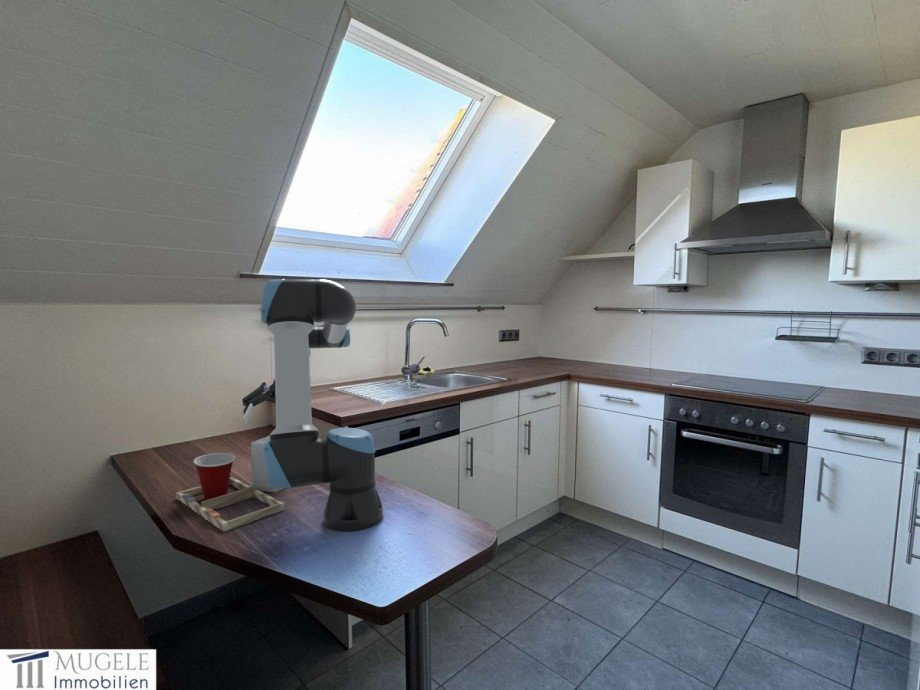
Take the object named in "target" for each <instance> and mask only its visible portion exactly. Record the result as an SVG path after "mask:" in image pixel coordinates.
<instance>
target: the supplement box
mask: <svg viewBox="0 0 920 690" xmlns="http://www.w3.org/2000/svg"><path fill="white" fill-rule="evenodd" d="M267 441H269V442H270V435H268V436H265V437H261V438H259V439H257V440H254V441H252V442H251V443H250V456H251V460H250V462H251V485H252V486H251V487H254V488H255V489H257V490H259V491H261V492H270V493H278V492H280V491H282V490H284V489H285V488H283V489H275V488H273V487H272V486H271V485H270V482H269V479H268V475H267V470H266V464H265V457H264V443H266V442H267Z"/></svg>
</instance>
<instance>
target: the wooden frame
mask: <svg viewBox="0 0 920 690" xmlns="http://www.w3.org/2000/svg"><path fill="white" fill-rule="evenodd" d="M229 486H232V487H234V488H236V489H238V490H236V491H232V492H228V493H227V494H225V495H222V496H219V497H215V498H212V499H209V500H205V499H204V500H203V501H202V500H201V502H200V503H198V502H197V501H196V500H197V499H196V498H195V497H194V496H197V495H200V494H201V495H202V494H203V490H202V487H201V485H200V486H196V487H191V488H188V489H185V490H180V491H177V492H176V500H177V501H178V500H179V501H178V502H180V501H181V502H182V504H183V503H184V504H185V505H184V504H183V505H184V506H186V505H187V506H188V507H187V506H186V507H187V508H189V507H190V508H191V509H192V511H193V510H194V511H195V512H194V511H193V512H194V513H196V512H197V513H198V514H197V513H196V514H197V515H199V516H200V515H201V516H200V517H202V518H203V517H204V518H203V519H205V520H206V521H207V520H208V522H209V523H210V524H211V525H213V526H214V527H216V528H218V529H219V530H220V531H222V532H227V531H230V530H233V529H235V528H238V527H241V526H244V525H247V524H250V523H253V522H255V520H256V521H258V520H261V519H264V518H266V517H265V516H267V517H269V516H272V515H275V514H277V512H278V513H281V512H282V511H285V503H284V502H282V501H281V500H278V499H276V498H275V497H273V496H271V495H270V494H267V493H266V492H265V493H264V491H259V490H257V489H255V488H254V487H252V486H251V485H249V484H246V483H245V482H243V481H241V480H239V479H237V478H234V477H233V476H232V477H231V476H230V480H229V485H228V487H229ZM252 498H255V499H256V498H257V500H258V499H259V500H258V501H260V500H261V501H260V502H262V501H263V503H264V502H265V503H264V504H266V503H267V505H268V504H269V505H268V506H267V507H264V508H262V509H258V510H255V511H251V512H250V513H246V514H244V515H240V516H237V517H235V518H232V519H229V520H225V519H223V518H221V514H220V513H219V512H217V511H216V510H217V508H219V509H221V508H220V507H222V508H224V506H225V507H227V506H232V505H234V504H237V503H241V502H244V501H246V500H249V499H252ZM181 502H180V503H181ZM270 505H271V506H270ZM190 508H189V509H190ZM191 509H190V510H191ZM214 509H216V510H214ZM280 511H281V512H280ZM274 513H275V514H274ZM271 514H272V515H271ZM268 515H269V516H268ZM263 517H264V518H263ZM260 518H261V519H260ZM252 521H253V522H252Z"/></svg>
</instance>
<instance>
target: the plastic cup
mask: <svg viewBox="0 0 920 690" xmlns="http://www.w3.org/2000/svg"><path fill="white" fill-rule="evenodd" d="M235 460H236V456H235V455H234V454H231V453H227V452H226V453H225V452H224V453H223V452H217V453H215V452H214V453H208V454H203V455H199V456H197V457H196V458H194V460H193V464H194V465H195V468H196V471H197V475H198V479H199V482H200V486H201V487H202V490H203V493H202V495H203V497H204V501H205V500H209V499H212V498H215V497H219V496H222V495H225V494H229V486H230V485H229V480H230V478H231V473H232V472H231V471H232V468H233V467H232V466H233V463H234V461H235ZM228 485H229V486H228Z"/></svg>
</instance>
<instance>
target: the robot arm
mask: <svg viewBox="0 0 920 690" xmlns="http://www.w3.org/2000/svg"><path fill="white" fill-rule="evenodd" d="M261 296H262V297H261V305H260V307H261V310H260V311H261V312H260V313H261V314H260V317H261V318H260V319H261V322H262V323H264V324H265V325H267V330H268V332H270V333H271V334H272V335H273V347H274V352H273V353H274V380H273V383H272V384H267V383H266V382H262V383H261V384H260V385H259V387H257V388H255V389H254V390H253V391H251V392H250V393H248V394H247V395H246V396H245V397H243V398H242V399H241V400H242V405H243V406H244V409H243V417H242V425H243V426H247V425H246V424H247V423H248V422H249V419H250V417H251V416H252V413H253V411H254V408H255V406H258V405H259V404H262V403H264V402H266V401H268V400H269V401H270V400H273V399H275V428H274V429H273V430H272V431H271V433H270V434H269V436H270V442H269V441H267V442H266V443H264V457H265V464H266V470H267V475H268V479H269V482H270V485H271V486H272V487H273V488H275V489H282V490H284V489H290V490H291V489H293V488H300V487H307V486H315V485H322V484H329V492H328V493H329V494H328V497H327V501H326V505H325V509H324V510H323V524H324V526H326V528H328V529H331V530H334V531H340V532H350V531H353V532H354V531H359V530H364V529H367V528H369V527H372V526H374V525H376V524H378V523H379V522H380V521H381V520H382V519H383V516H384V507H383V503H382V501H381V498H380V495H379V493H378V491H377V486H376V467H375V466H376V464H375V463H376V461H375V459H376V458H375V453H376V448H375V440H374V439H375V438H374V436H373V435H372V434H371V433H370V432H369V431H367V430H364V429H360V428H355V427H354V428H353V427H337V428H331V429H329V430H328V431H327V434H326V436H320V435H319V433H320V431H319V429H318V428H317V427H316V426H314V424H313V421H312V420H313V419H312V418H313V417H312V395H311V394H312V391H311V368H310V367H311V366H310V357H311V349H330V348H334V349H335V348H336V349H341V348H348V347H349V346H350V344H351V331H350V330H351V329H350V328H349V326H348V325H349V323H350V322H351V321H352V320H353V319H354V317H355V314H356V311H357V304H356V301H355V297H354V296H353V295H352V293H351V292H350V291H349V290H348V289H347V288H346V287H344V286H343V285H341V284H339V283H337V282H336V281H333V280H329V279H308V278H307V279H301V278H299V279H297V278H292V279H291V278H290V279H289V278H282V279H269V280H267V282H265V285H264V286H263V291H262V295H261ZM315 323H323V325H322V326H315ZM283 488H284V489H283ZM377 522H378V523H377Z"/></svg>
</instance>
